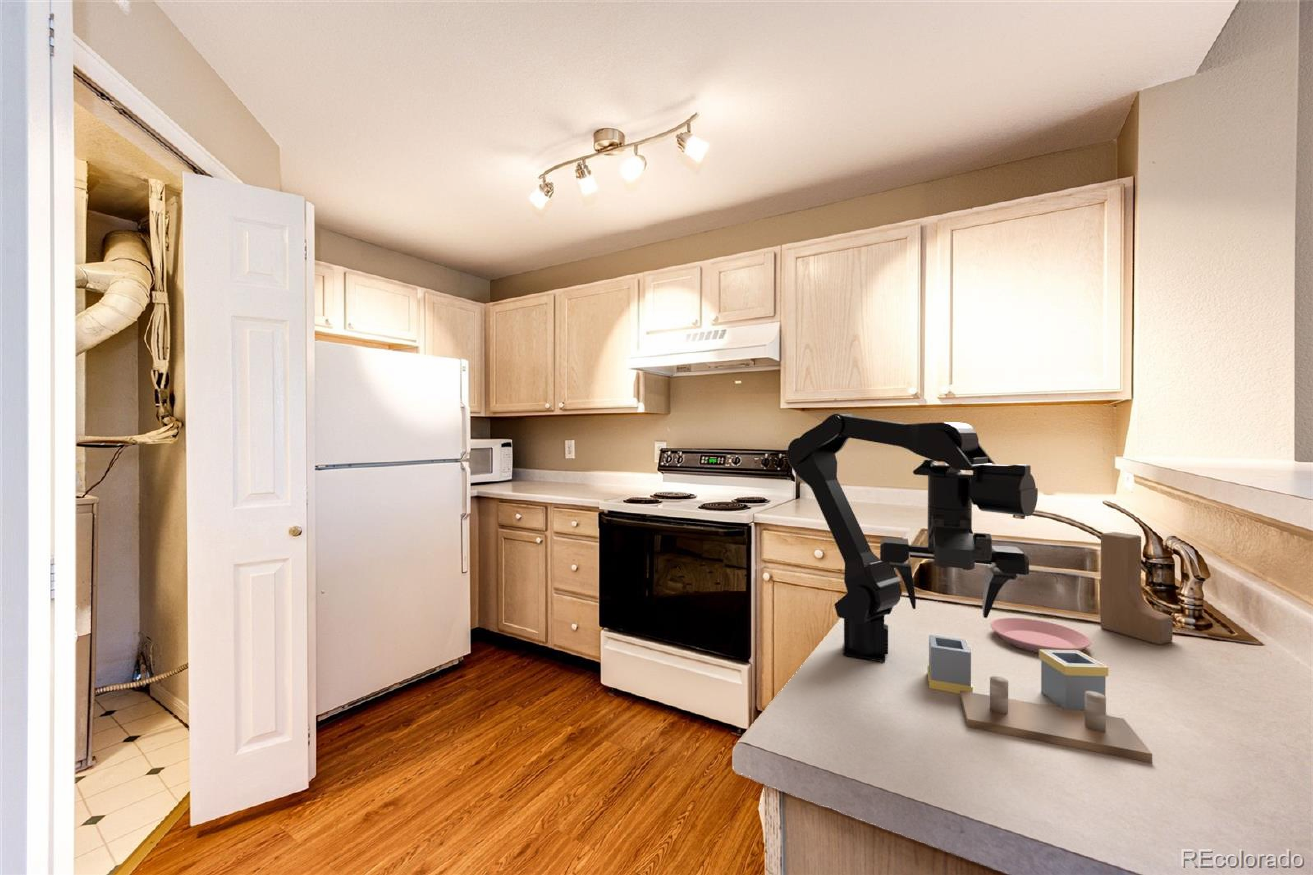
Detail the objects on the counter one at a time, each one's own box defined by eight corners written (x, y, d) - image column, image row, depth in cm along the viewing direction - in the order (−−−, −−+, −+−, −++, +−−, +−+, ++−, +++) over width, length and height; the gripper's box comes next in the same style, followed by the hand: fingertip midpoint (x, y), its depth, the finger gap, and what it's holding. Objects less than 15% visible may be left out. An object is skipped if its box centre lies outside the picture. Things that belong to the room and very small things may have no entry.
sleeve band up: (1065, 711, 70) (1065, 666, 70) (1038, 691, 76) (1038, 649, 75) (1108, 712, 70) (1108, 667, 70) (1078, 692, 75) (1078, 650, 75)
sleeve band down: (929, 688, 76) (929, 647, 76) (927, 672, 81) (927, 634, 81) (972, 695, 74) (972, 653, 74) (967, 679, 79) (967, 639, 79)
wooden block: (1173, 641, 93) (1174, 540, 93) (1160, 645, 91) (1160, 542, 91) (1112, 624, 101) (1113, 531, 101) (1099, 628, 100) (1099, 533, 99)
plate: (1089, 668, 83) (1089, 656, 83) (984, 645, 92) (984, 633, 92) (1091, 641, 94) (1091, 630, 94) (997, 622, 103) (997, 612, 103)
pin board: (967, 726, 66) (967, 687, 66) (960, 697, 74) (960, 662, 74) (1152, 762, 59) (1152, 718, 59) (1123, 726, 66) (1123, 686, 66)
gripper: (879, 511, 74) (879, 621, 74) (1040, 520, 66) (1039, 643, 67) (880, 501, 84) (880, 598, 84) (1020, 508, 77) (1019, 614, 77)
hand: (948, 612), depth 78 cm, fingers open, 9 cm apart
